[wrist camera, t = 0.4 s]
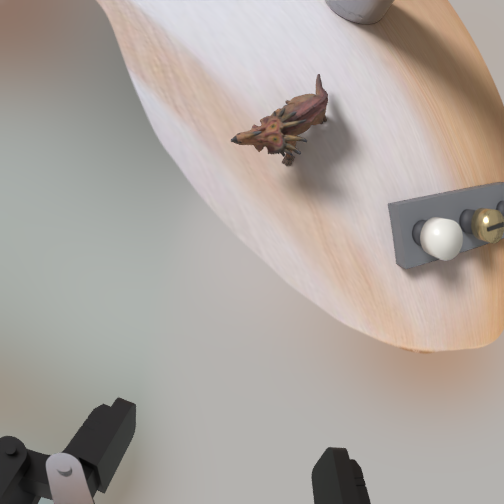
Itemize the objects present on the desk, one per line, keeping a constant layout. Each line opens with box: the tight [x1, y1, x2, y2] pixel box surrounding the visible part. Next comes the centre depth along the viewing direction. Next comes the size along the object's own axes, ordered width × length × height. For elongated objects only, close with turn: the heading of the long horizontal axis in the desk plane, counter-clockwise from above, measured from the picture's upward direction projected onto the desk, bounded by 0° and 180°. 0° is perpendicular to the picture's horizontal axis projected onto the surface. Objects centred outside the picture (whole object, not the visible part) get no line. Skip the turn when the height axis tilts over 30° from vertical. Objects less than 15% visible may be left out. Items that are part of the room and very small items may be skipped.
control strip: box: [388, 182, 504, 269], centre depth 32 cm, size 22×8×4 cm, turn 104°
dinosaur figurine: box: [231, 74, 328, 166], centre depth 28 cm, size 14×6×9 cm, turn 138°
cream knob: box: [420, 217, 463, 261], centre depth 27 cm, size 4×4×3 cm
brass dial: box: [471, 208, 504, 243], centre depth 26 cm, size 4×4×3 cm
